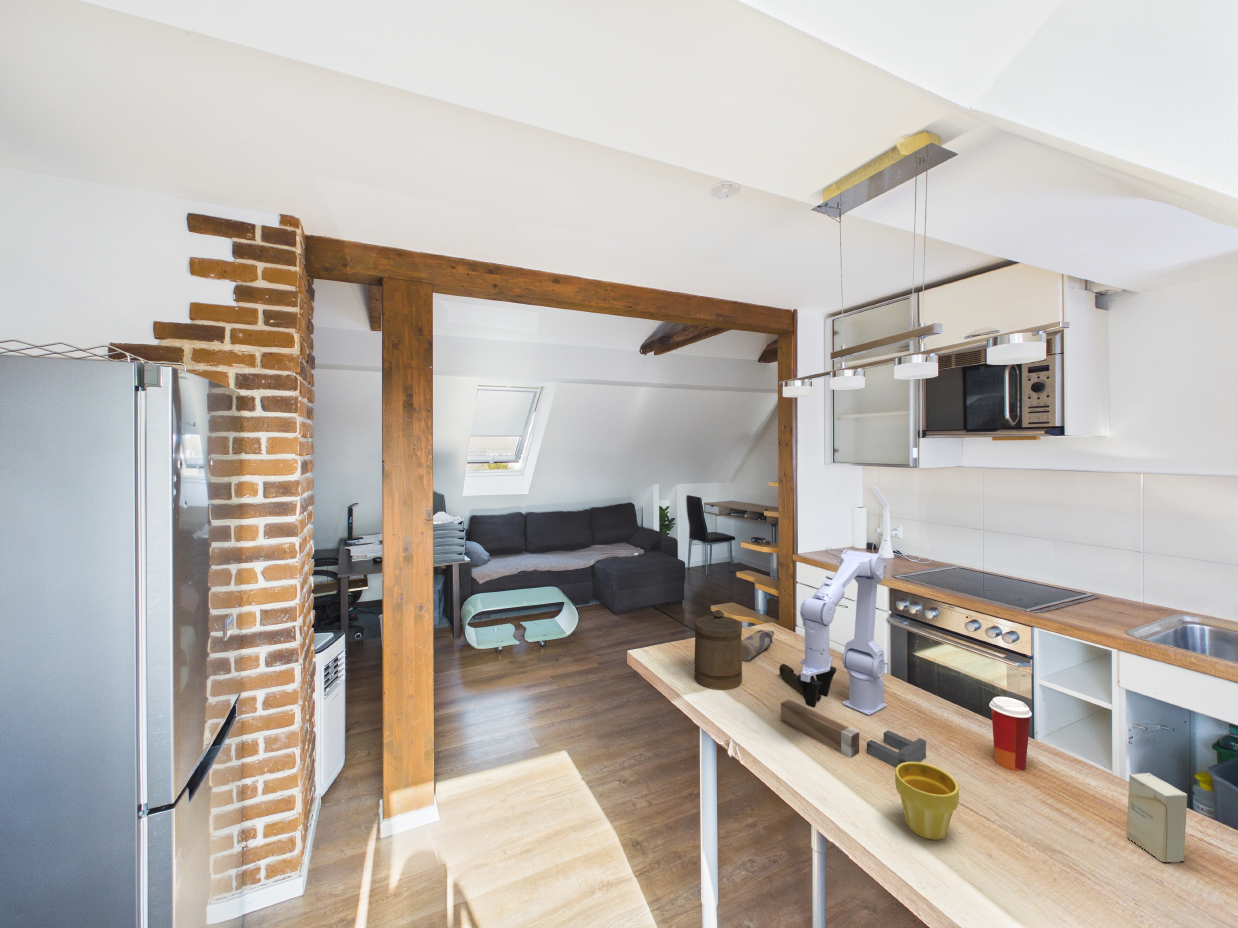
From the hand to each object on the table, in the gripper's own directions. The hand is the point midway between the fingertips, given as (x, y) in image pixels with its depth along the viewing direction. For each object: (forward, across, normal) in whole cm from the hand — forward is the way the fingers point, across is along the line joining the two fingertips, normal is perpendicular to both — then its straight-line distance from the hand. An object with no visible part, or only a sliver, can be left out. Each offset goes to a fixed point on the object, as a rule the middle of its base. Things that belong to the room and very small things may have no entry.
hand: (817, 700), depth 129 cm
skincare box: (+10, -5, +59) cm, 60 cm away
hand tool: (+10, -22, -16) cm, 29 cm away
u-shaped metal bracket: (+10, -5, +17) cm, 20 cm away
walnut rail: (+10, -1, 0) cm, 10 cm away
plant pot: (+10, +16, +28) cm, 34 cm away
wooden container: (+10, -12, -37) cm, 40 cm away
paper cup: (+10, -20, +37) cm, 43 cm away
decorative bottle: (+10, -42, -38) cm, 58 cm away
